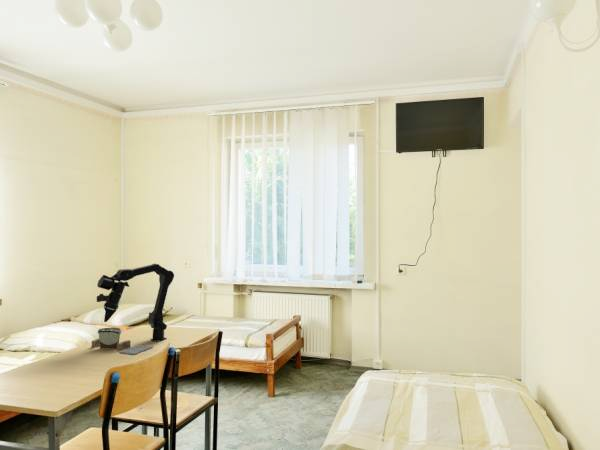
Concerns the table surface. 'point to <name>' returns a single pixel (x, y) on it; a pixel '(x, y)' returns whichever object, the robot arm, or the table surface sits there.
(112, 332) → the food container
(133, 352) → the mat
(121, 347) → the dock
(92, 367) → the table surface
